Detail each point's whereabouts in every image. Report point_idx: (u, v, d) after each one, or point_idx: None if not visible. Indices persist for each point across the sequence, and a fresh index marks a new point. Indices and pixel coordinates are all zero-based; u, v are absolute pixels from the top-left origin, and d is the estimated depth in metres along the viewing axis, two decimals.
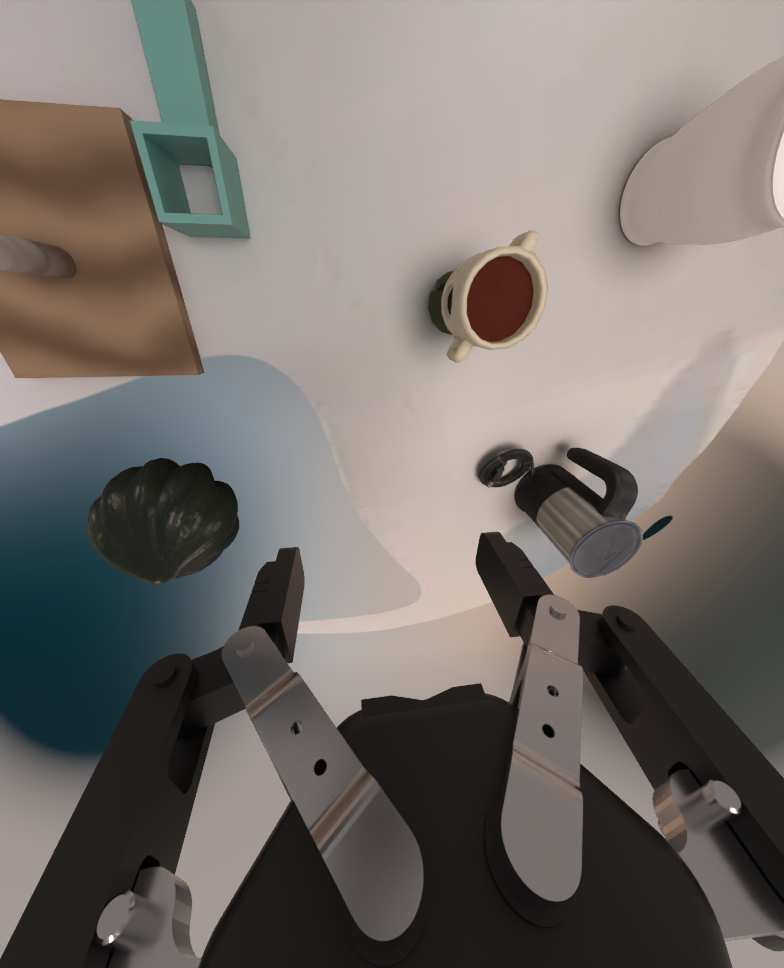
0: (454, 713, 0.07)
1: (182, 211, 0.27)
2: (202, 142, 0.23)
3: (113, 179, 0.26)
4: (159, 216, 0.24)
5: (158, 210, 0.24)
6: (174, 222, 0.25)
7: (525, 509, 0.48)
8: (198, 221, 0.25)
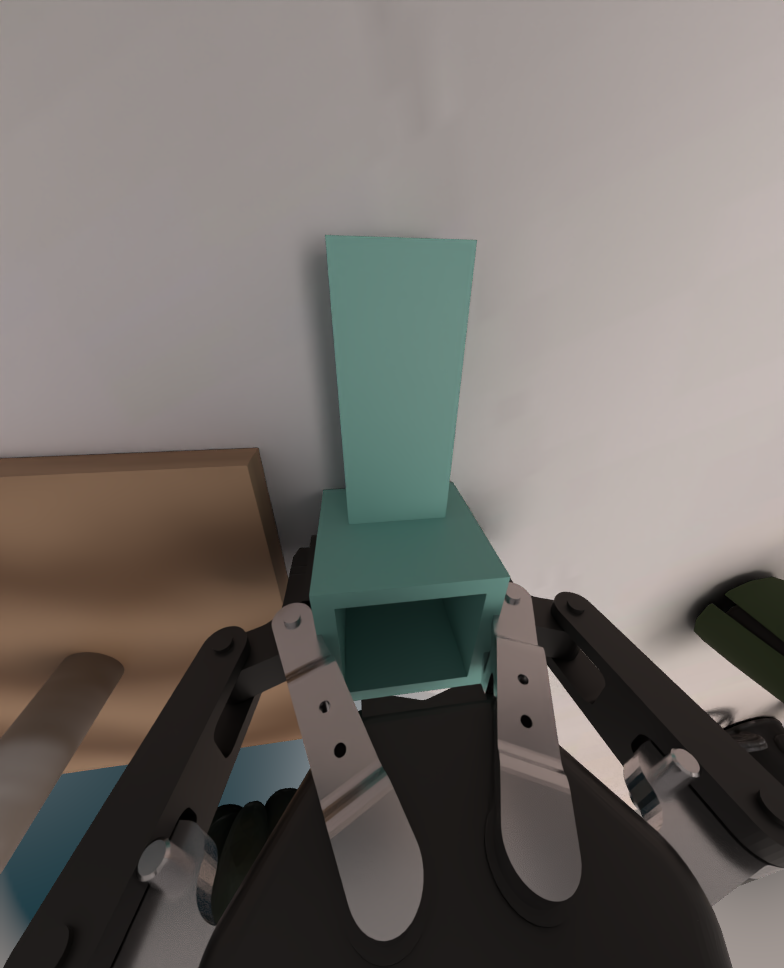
0: (454, 713, 0.07)
1: None
2: None
3: (214, 563, 0.12)
4: None
5: None
6: (361, 699, 0.11)
7: None
8: (413, 690, 0.11)
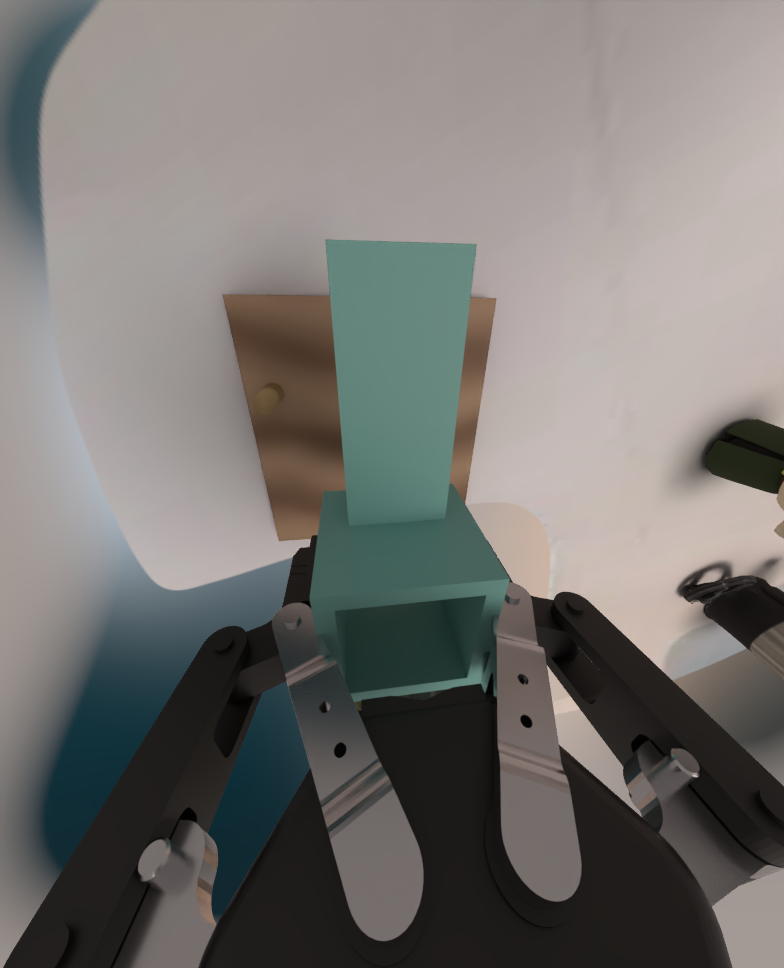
0: (454, 713, 0.07)
1: None
2: None
3: None
4: None
5: None
6: None
7: (725, 624, 0.45)
8: (413, 691, 0.11)
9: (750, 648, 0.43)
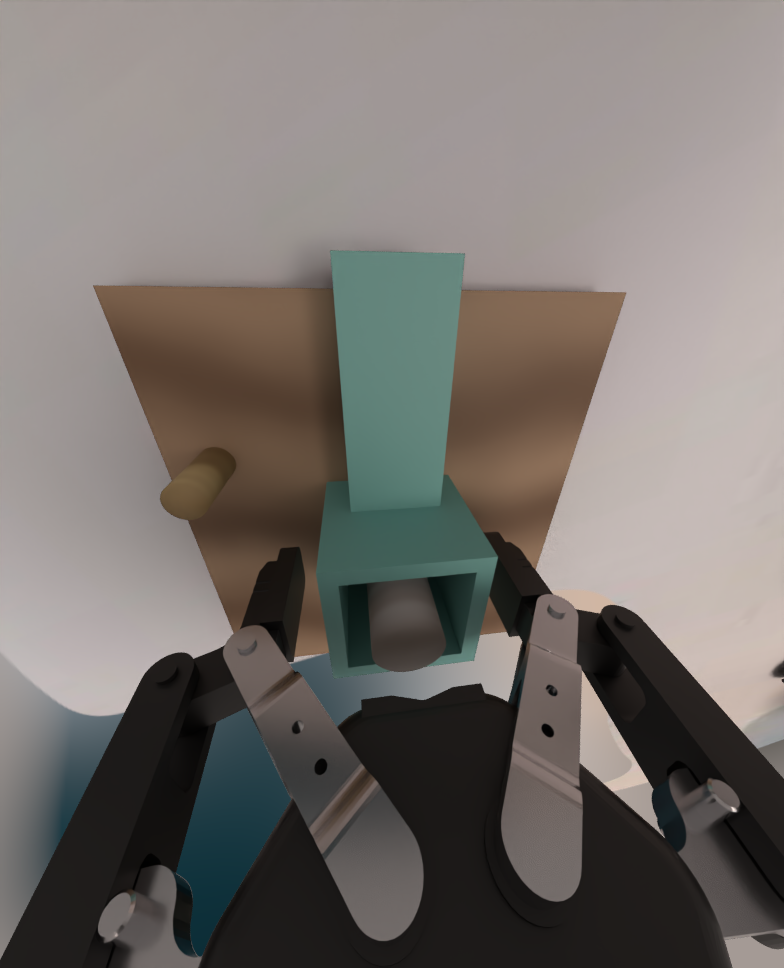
0: (454, 713, 0.07)
1: None
2: None
3: (543, 406, 0.13)
4: (336, 672, 0.12)
5: (337, 667, 0.11)
6: (362, 674, 0.12)
7: None
8: None
9: None
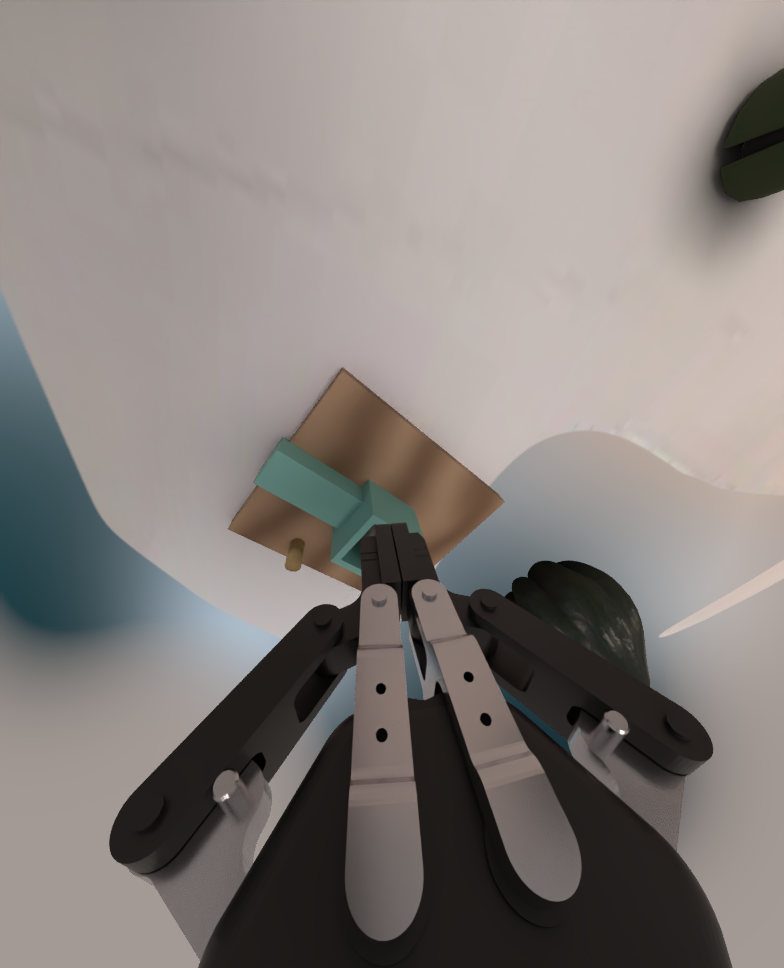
0: None
1: None
2: None
3: (369, 426, 0.25)
4: None
5: None
6: None
7: None
8: None
9: None
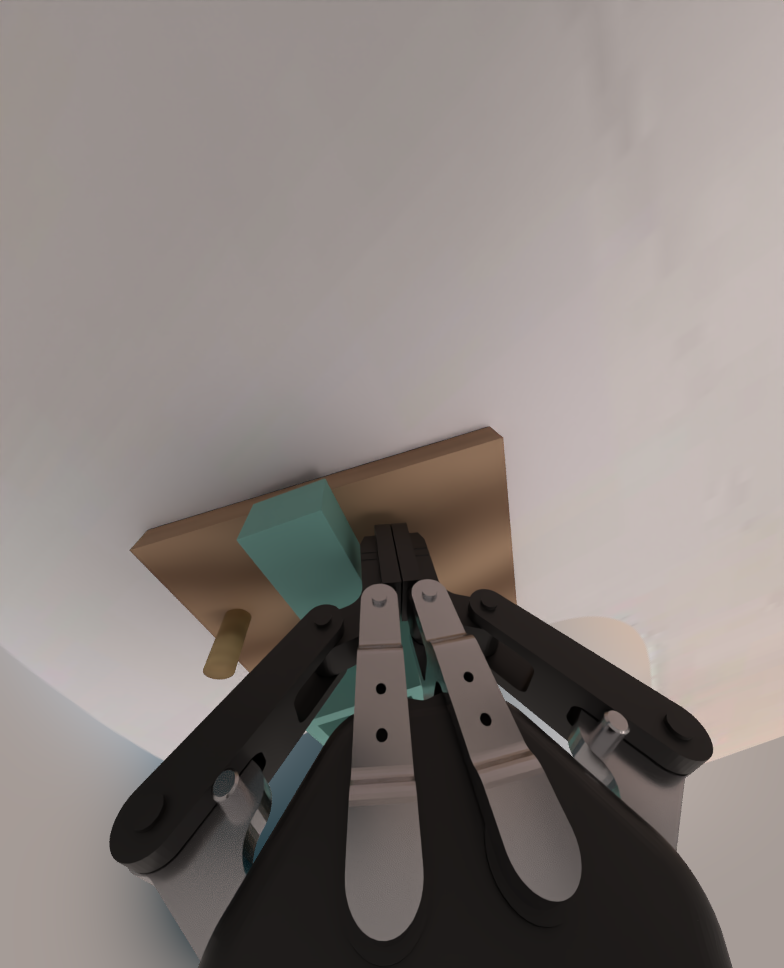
0: None
1: None
2: None
3: (469, 521, 0.16)
4: None
5: None
6: None
7: None
8: None
9: None
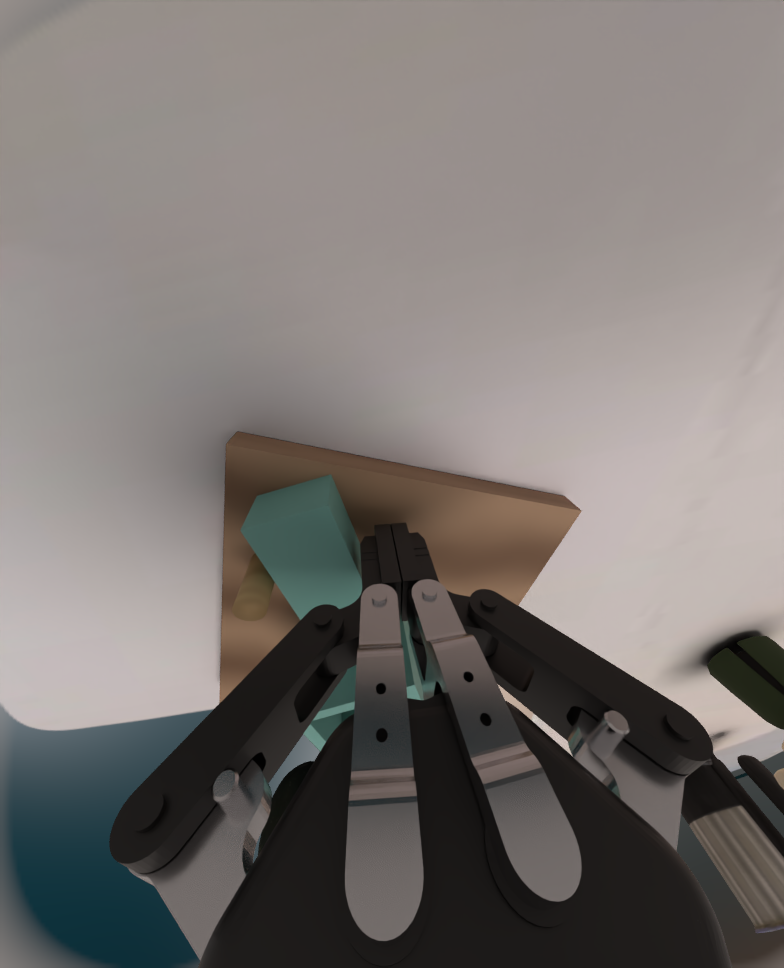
0: None
1: None
2: None
3: (513, 563, 0.18)
4: None
5: None
6: None
7: None
8: None
9: (690, 824, 0.42)
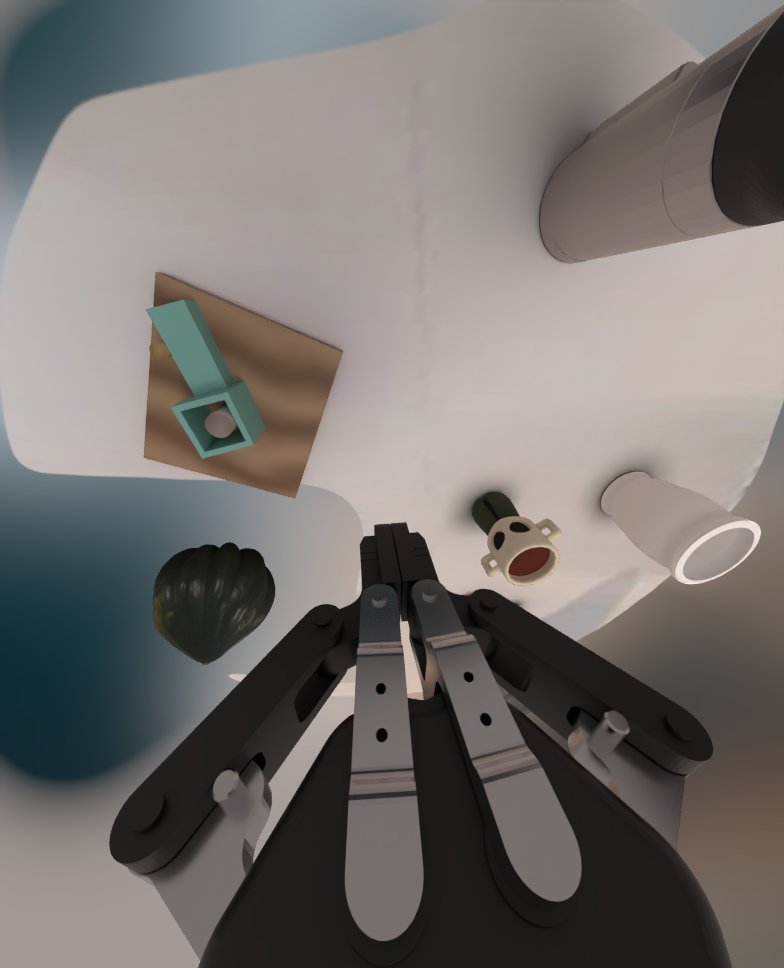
0: None
1: None
2: None
3: (312, 381, 0.35)
4: (201, 455, 0.32)
5: (200, 451, 0.31)
6: (212, 455, 0.32)
7: None
8: (229, 450, 0.32)
9: None
